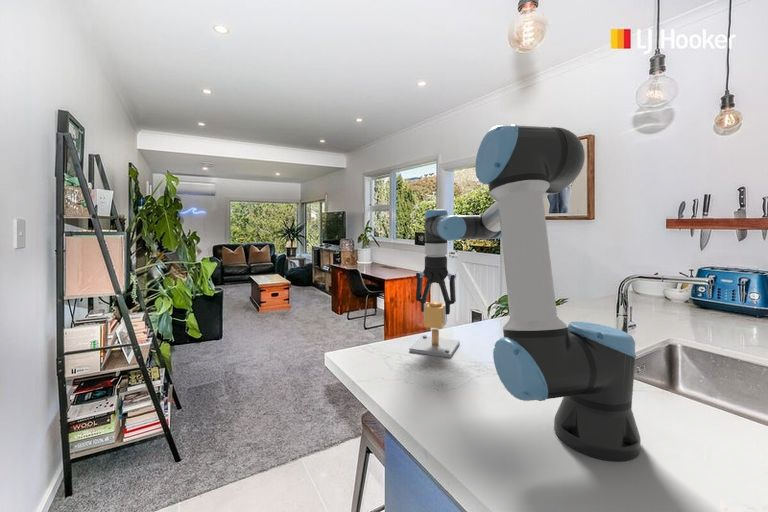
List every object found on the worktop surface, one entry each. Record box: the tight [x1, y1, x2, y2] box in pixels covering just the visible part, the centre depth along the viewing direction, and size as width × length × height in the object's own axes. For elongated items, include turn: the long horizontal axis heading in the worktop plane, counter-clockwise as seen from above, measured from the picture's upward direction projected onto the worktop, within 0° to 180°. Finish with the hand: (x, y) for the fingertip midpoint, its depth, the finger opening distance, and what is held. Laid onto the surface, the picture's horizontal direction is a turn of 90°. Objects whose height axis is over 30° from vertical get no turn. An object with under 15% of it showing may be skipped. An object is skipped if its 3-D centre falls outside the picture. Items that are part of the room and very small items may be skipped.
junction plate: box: [408, 328, 461, 359], centre depth 125 cm, size 14×14×6 cm
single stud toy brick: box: [423, 301, 447, 330], centre depth 124 cm, size 6×6×8 cm
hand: (435, 322), depth 124 cm, fingers closed on single stud toy brick, 6 cm apart
